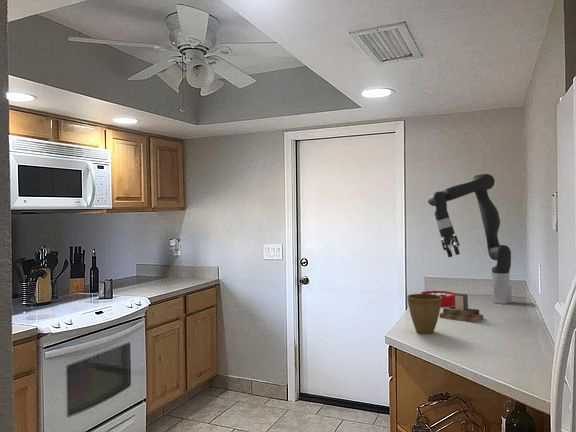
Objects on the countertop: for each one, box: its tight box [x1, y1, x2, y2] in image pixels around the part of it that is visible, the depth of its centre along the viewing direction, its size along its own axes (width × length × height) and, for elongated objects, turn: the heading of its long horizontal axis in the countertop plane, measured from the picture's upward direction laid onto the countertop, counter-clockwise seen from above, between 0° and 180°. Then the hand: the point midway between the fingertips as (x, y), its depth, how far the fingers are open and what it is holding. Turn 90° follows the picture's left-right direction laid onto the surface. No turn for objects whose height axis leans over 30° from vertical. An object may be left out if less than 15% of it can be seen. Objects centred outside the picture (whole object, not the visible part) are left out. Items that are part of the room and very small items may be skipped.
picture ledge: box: [439, 305, 484, 323], centre depth 236 cm, size 18×10×4 cm, turn 44°
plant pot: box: [407, 293, 442, 335], centre depth 212 cm, size 15×15×16 cm
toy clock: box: [420, 290, 457, 308], centre depth 276 cm, size 20×6×20 cm
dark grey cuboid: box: [453, 292, 469, 311], centre depth 236 cm, size 6×4×10 cm, turn 45°
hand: (454, 255), depth 258 cm, fingers open, 8 cm apart
